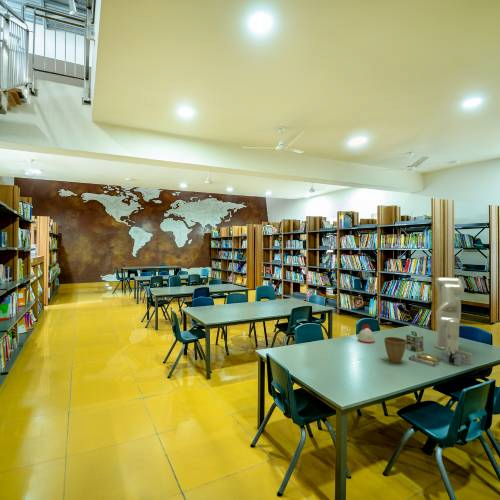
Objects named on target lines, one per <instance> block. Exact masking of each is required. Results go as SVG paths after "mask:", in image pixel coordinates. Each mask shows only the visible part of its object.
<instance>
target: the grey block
mask: <svg viewBox="0 0 500 500" xmlns="http://www.w3.org/2000/svg"><path fill="white" fill-rule="evenodd" d="M443 362H444V363H448V364H451V365H456V366H459V367H460V366H461V365H462V362H461V355H460V354H455V353H454V363H450V362H449V355H448V352H446V350H445V351H444V352H443Z"/></svg>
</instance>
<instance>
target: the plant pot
mask: <svg viewBox="0 0 500 500" xmlns="http://www.w3.org/2000/svg"><path fill="white" fill-rule="evenodd" d="M383 339H384V346H385V352H386V354H387V357H388V360H389V362H391V363H395V364H400V363H401V361H402V359H403V357H404V354H405V352H406V348H407V347H406V342H407V341H406V338H402V337H397V336H386V337H383Z"/></svg>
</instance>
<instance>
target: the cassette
mask: <svg viewBox="0 0 500 500" xmlns="http://www.w3.org/2000/svg"><path fill="white" fill-rule="evenodd" d="M456 354H460V355H461V363H465V364H467V365H471V366H472V365H473V354H472V353H470V352H468V351H464V350H460V349H458V352H457V353H456Z"/></svg>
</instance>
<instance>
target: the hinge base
mask: <svg viewBox="0 0 500 500" xmlns="http://www.w3.org/2000/svg"><path fill="white" fill-rule="evenodd" d="M408 360H409V361H414V362H416V363H420V364H424V365H426V366H427V365H428V366H430V367H436V366H438V365H440V362H441V361H442V362H443V361H444V357H443V356H439V355H435V354H430V353H426V352H422V353H418V352H416V355H415V354H413V355H410V356H409V357H408Z"/></svg>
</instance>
